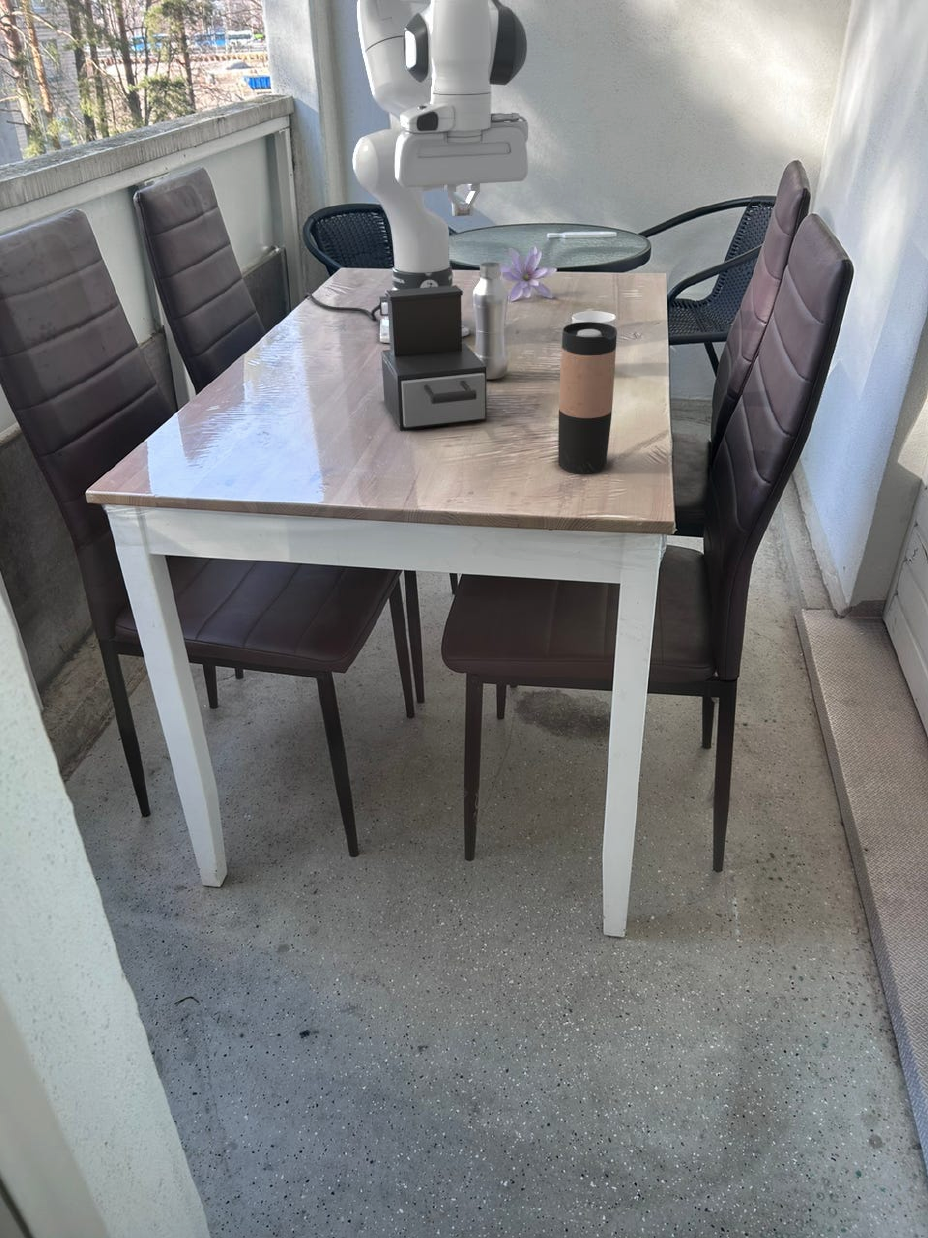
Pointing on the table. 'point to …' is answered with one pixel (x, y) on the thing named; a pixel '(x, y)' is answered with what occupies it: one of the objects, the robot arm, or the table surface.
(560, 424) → the travel mug
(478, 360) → the dark grey box
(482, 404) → the grey drawer
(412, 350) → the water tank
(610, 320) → the white cup
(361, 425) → the table surface
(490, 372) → the silver water bottle
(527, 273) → the water lily
